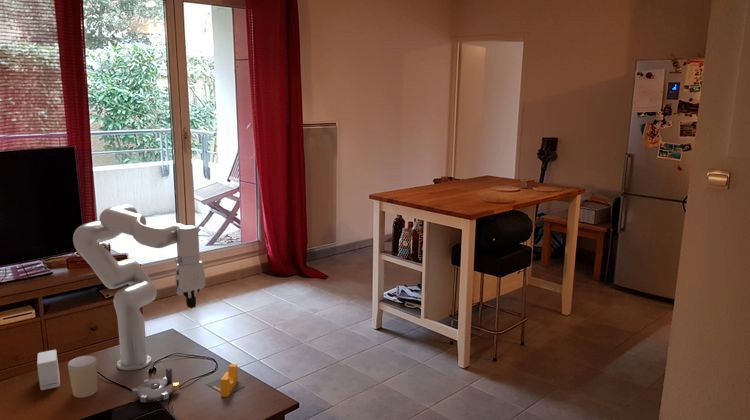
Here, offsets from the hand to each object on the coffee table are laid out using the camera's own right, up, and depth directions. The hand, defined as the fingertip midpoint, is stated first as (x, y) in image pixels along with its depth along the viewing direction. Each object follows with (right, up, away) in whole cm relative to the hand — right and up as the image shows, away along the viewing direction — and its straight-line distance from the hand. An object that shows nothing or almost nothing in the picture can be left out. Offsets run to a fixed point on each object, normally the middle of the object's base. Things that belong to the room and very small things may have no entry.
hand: (191, 306), depth 216 cm
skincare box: (-51, -28, -2) cm, 58 cm away
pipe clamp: (+15, -29, -5) cm, 33 cm away
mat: (+13, -28, -3) cm, 32 cm away
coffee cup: (-35, -29, -9) cm, 46 cm away
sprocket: (-9, -28, -11) cm, 32 cm away
